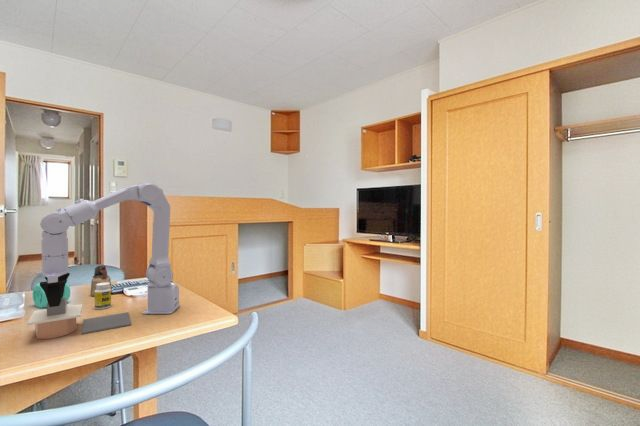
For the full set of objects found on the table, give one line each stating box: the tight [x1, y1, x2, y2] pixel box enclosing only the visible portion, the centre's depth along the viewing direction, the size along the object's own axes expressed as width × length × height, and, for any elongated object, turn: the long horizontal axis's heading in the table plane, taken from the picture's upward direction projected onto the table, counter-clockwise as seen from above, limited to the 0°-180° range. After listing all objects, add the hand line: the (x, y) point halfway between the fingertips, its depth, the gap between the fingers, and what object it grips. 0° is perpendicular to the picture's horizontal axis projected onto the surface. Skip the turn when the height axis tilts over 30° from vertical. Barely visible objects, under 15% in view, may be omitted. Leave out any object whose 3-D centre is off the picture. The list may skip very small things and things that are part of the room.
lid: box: [26, 298, 83, 326], centre depth 89 cm, size 11×11×4 cm
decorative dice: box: [32, 281, 71, 309], centre depth 112 cm, size 8×8×8 cm
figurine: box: [90, 264, 113, 298], centre depth 125 cm, size 7×7×12 cm
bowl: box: [34, 317, 77, 340], centre depth 89 cm, size 8×8×5 cm
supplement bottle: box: [94, 283, 112, 310], centre depth 110 cm, size 5×5×8 cm
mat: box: [81, 311, 132, 335], centre depth 96 cm, size 12×12×1 cm
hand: (56, 302), depth 89 cm, fingers open, 7 cm apart
